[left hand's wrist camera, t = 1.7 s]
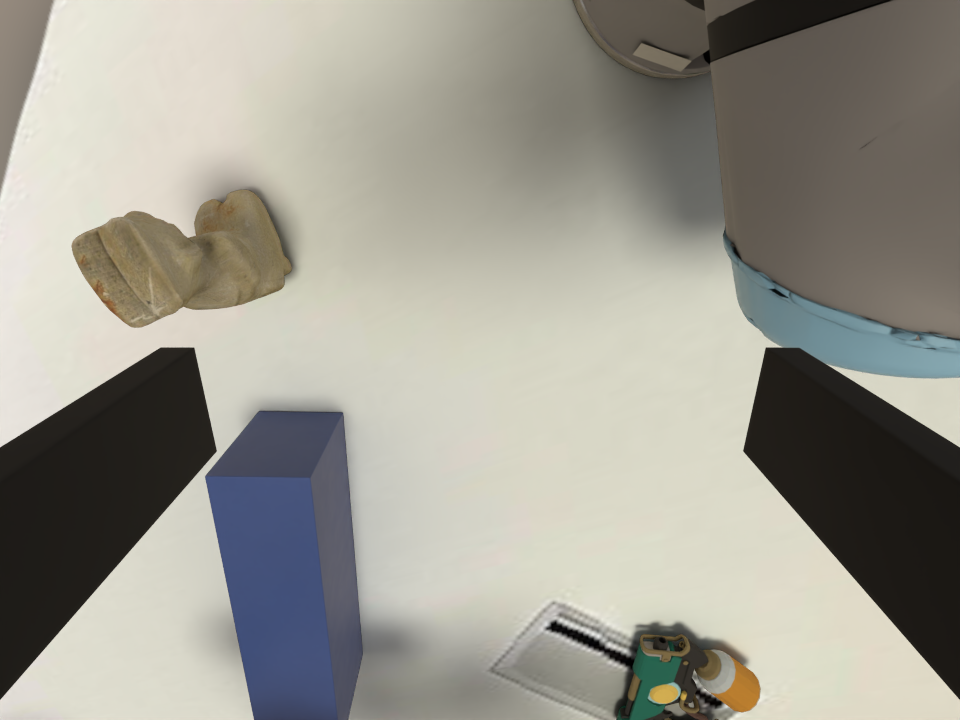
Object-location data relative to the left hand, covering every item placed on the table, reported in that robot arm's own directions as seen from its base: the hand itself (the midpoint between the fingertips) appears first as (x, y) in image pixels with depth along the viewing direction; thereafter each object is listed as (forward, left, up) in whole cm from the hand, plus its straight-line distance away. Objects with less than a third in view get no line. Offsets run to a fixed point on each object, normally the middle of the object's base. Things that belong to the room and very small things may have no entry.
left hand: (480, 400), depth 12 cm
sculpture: (+9, -14, -28) cm, 33 cm away
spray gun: (+30, +43, -28) cm, 60 cm away
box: (+33, +2, -28) cm, 43 cm away
